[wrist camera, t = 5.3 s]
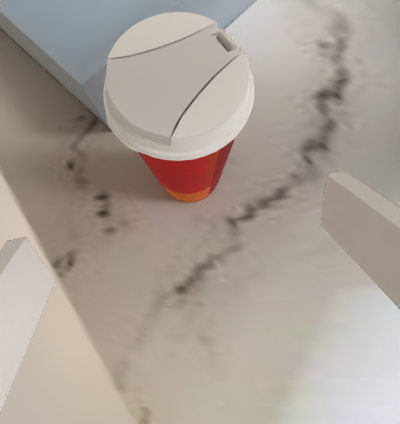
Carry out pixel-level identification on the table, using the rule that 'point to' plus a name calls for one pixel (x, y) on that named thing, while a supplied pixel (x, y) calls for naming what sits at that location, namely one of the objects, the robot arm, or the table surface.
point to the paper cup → (179, 99)
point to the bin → (92, 35)
